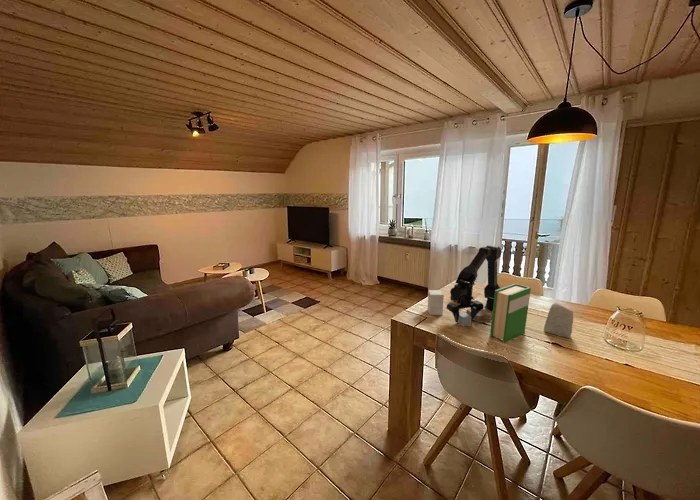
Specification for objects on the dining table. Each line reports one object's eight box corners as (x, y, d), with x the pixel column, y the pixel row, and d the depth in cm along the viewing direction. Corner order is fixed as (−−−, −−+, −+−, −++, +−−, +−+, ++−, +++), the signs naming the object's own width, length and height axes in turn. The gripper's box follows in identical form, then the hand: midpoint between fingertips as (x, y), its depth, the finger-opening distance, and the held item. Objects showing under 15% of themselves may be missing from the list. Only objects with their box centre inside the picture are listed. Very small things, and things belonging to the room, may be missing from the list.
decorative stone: (572, 336, 138) (577, 307, 135) (568, 340, 134) (573, 311, 131) (546, 327, 146) (550, 300, 143) (542, 331, 142) (546, 303, 139)
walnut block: (479, 313, 164) (479, 307, 163) (490, 320, 155) (491, 313, 154) (465, 315, 161) (466, 309, 160) (476, 322, 153) (477, 316, 152)
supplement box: (439, 310, 168) (441, 290, 165) (442, 315, 161) (444, 294, 158) (427, 309, 169) (428, 289, 166) (429, 315, 162) (430, 294, 159)
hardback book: (504, 343, 132) (510, 295, 127) (489, 336, 138) (494, 290, 133) (524, 332, 141) (530, 287, 136) (509, 326, 148) (515, 283, 142)
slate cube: (464, 321, 155) (465, 312, 153) (470, 325, 150) (471, 316, 149) (456, 322, 153) (457, 313, 152) (462, 326, 149) (463, 317, 148)
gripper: (471, 287, 158) (469, 312, 161) (441, 290, 153) (440, 316, 157) (485, 294, 147) (482, 321, 151) (453, 297, 143) (451, 326, 146)
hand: (463, 321), depth 151 cm, fingers open, 9 cm apart
